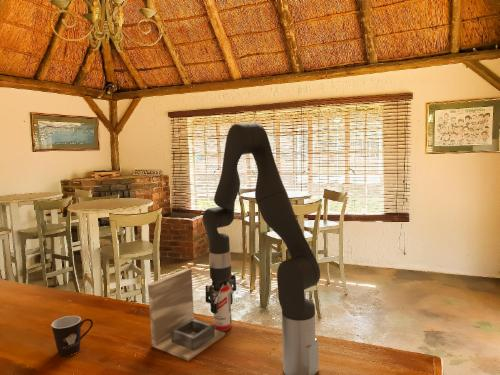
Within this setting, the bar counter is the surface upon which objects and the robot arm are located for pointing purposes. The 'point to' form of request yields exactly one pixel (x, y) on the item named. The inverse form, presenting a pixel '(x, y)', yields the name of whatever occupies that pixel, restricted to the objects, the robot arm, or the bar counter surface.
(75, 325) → the coffee mug
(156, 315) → the can rack
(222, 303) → the beer can
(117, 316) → the bar counter surface
